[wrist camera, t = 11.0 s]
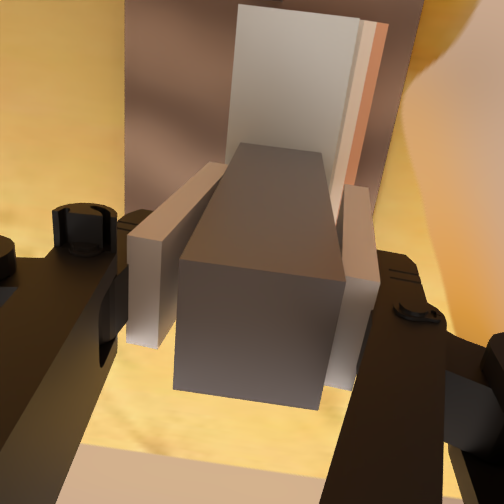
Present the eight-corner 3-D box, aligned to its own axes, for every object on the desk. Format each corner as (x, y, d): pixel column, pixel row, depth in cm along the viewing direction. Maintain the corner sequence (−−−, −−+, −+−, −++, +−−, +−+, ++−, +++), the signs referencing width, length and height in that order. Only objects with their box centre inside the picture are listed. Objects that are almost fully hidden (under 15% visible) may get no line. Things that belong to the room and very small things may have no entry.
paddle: (247, 8, 18) (158, -34, 7) (350, 20, 18) (445, 0, 7) (221, 280, 24) (146, 528, 12) (303, 291, 23) (308, 554, 12)
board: (136, -69, 25) (108, -83, 22) (429, -38, 23) (440, -48, 20) (133, 242, 33) (112, 262, 30) (353, 283, 31) (353, 310, 28)
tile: (364, 20, 18) (388, 23, 19) (254, 9, 23) (277, 12, 24) (310, 296, 23) (331, 290, 24) (230, 239, 28) (249, 235, 29)
